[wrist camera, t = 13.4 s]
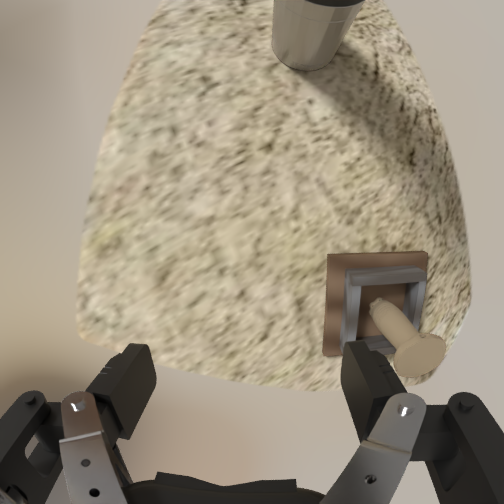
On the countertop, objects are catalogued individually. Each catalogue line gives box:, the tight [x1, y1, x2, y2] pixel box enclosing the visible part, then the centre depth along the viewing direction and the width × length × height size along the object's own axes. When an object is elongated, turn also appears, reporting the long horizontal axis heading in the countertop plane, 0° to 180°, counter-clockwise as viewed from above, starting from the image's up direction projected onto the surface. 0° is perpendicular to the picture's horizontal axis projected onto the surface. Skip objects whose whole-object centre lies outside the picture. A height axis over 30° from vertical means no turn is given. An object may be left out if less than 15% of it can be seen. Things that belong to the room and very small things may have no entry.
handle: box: [369, 297, 446, 378], centre depth 33 cm, size 5×6×15 cm
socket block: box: [322, 251, 428, 356], centre depth 39 cm, size 16×16×6 cm
